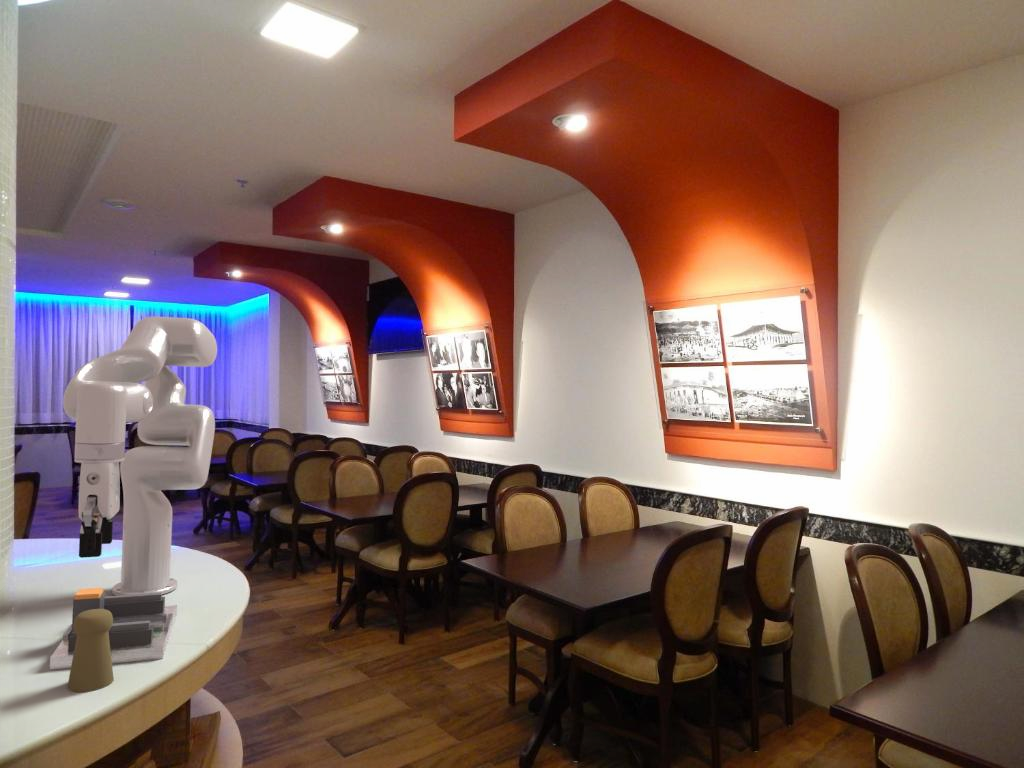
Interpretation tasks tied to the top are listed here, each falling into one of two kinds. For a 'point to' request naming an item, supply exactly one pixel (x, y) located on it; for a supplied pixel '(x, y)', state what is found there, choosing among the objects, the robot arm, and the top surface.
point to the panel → (127, 653)
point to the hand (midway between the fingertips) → (96, 549)
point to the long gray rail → (129, 630)
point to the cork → (91, 652)
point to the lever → (87, 601)
